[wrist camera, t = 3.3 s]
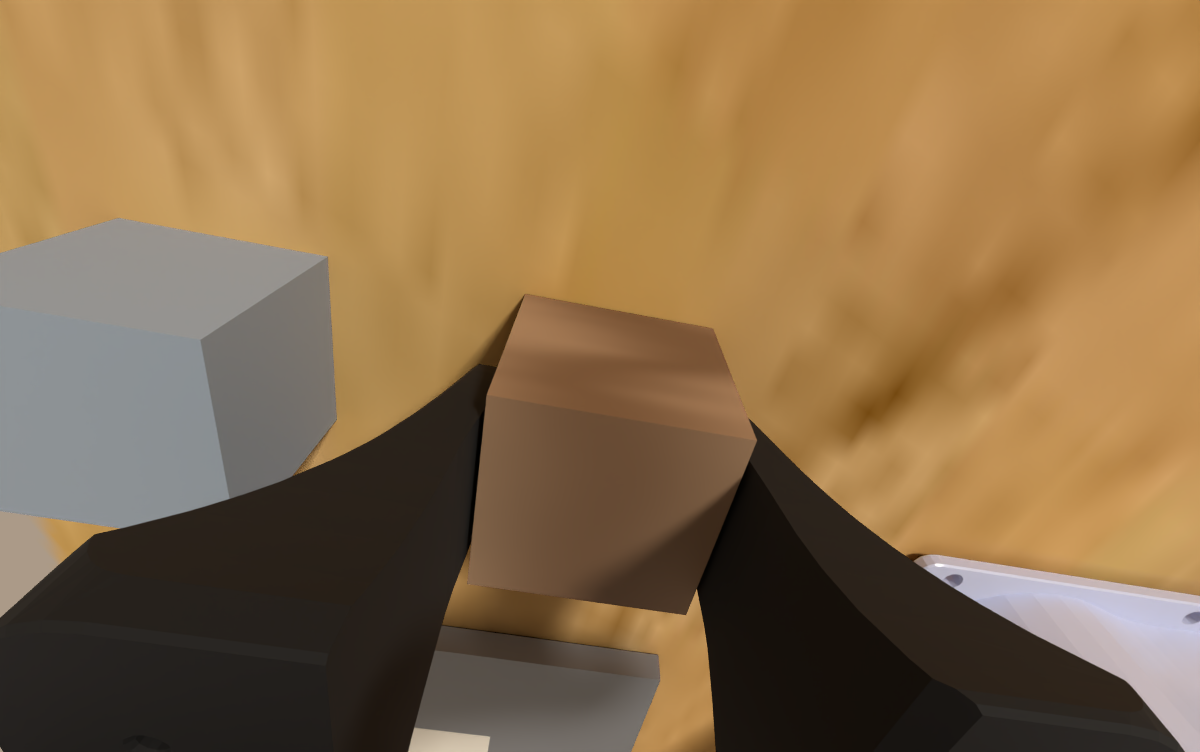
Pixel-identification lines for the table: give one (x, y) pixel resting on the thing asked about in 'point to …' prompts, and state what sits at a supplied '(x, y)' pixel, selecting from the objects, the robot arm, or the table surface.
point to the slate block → (157, 371)
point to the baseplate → (531, 695)
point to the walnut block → (606, 457)
